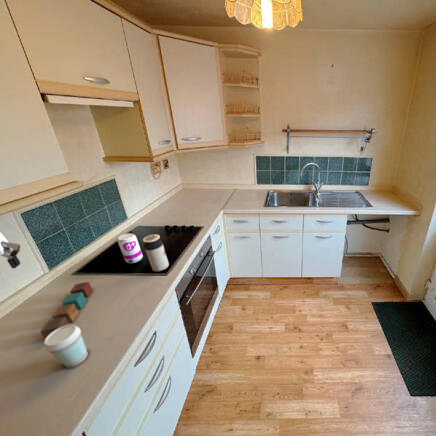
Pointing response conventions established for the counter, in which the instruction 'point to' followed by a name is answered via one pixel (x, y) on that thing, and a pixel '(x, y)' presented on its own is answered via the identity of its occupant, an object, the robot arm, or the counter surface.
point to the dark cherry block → (82, 289)
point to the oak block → (66, 312)
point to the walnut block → (53, 325)
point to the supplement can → (130, 248)
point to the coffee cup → (66, 345)
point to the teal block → (75, 300)
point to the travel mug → (155, 252)
